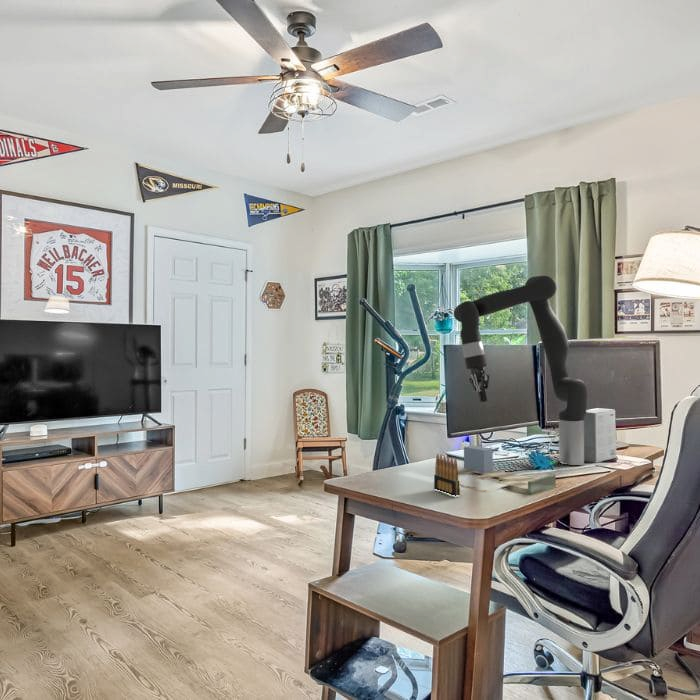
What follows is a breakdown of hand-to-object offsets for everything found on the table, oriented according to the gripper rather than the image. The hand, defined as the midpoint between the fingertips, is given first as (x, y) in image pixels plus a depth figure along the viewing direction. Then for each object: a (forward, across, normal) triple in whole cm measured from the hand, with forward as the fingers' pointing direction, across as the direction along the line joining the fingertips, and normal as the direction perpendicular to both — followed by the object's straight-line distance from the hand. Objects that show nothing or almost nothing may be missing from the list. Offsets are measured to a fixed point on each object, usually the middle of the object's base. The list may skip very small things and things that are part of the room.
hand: (483, 401), depth 205 cm
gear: (+30, 0, -17) cm, 34 cm away
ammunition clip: (+25, -20, +28) cm, 43 cm away
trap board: (+27, -9, +3) cm, 29 cm away
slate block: (+24, +2, +7) cm, 25 cm away
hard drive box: (+32, +15, -50) cm, 61 cm away
